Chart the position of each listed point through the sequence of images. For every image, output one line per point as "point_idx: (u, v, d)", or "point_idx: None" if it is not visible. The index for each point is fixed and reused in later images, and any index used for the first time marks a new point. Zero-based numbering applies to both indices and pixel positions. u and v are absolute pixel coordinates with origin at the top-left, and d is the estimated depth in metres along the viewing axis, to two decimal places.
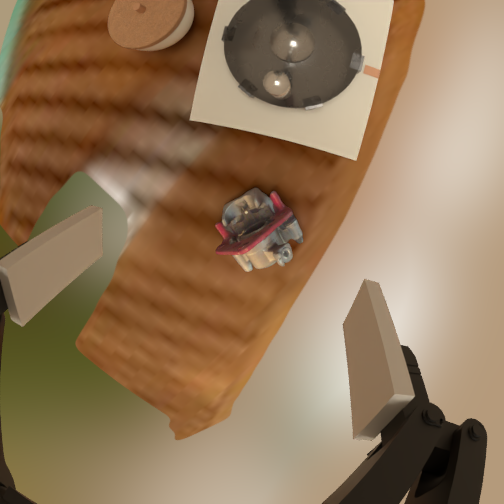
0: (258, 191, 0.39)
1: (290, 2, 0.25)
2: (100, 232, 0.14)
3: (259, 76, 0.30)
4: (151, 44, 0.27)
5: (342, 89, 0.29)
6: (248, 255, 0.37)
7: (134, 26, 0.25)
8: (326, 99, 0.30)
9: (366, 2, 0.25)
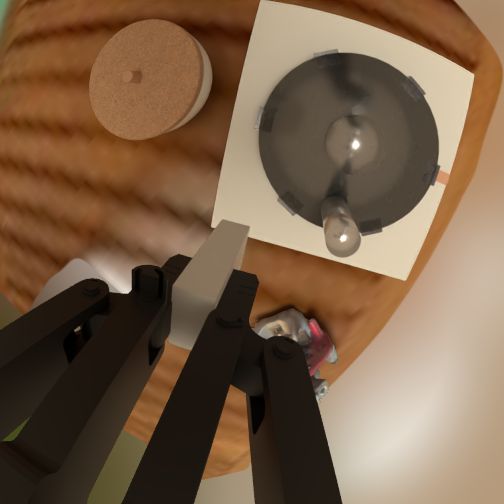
0: (294, 315, 0.34)
1: (354, 76, 0.20)
2: None
3: (306, 189, 0.25)
4: (154, 136, 0.22)
5: (408, 210, 0.24)
6: None
7: (127, 104, 0.20)
8: (388, 223, 0.25)
9: (443, 76, 0.20)
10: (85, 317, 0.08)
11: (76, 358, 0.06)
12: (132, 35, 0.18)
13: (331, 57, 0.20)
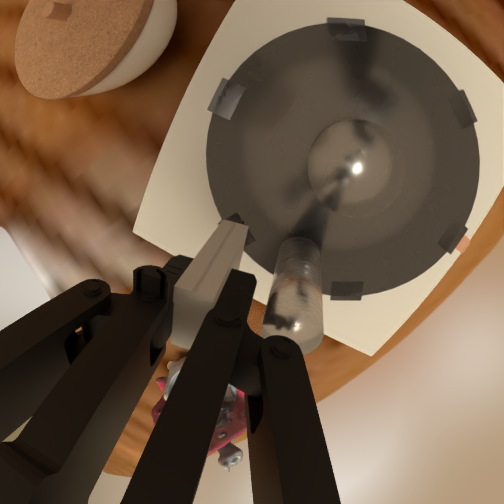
0: None
1: (380, 64, 0.12)
2: None
3: (263, 217, 0.17)
4: (64, 97, 0.12)
5: (406, 280, 0.17)
6: None
7: (45, 49, 0.11)
8: (372, 291, 0.17)
9: (499, 108, 0.13)
10: (86, 318, 0.08)
11: (77, 359, 0.06)
12: None
13: (352, 29, 0.11)
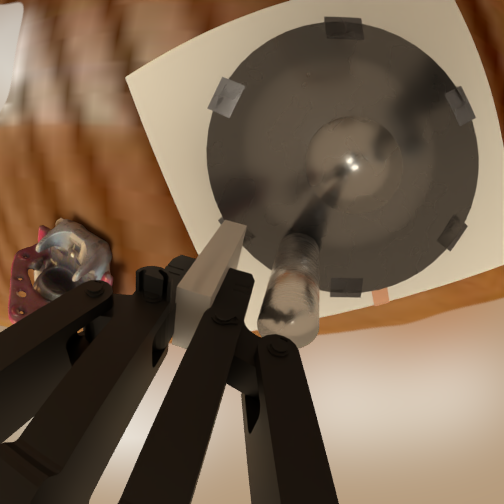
0: (101, 254, 0.24)
1: (377, 62, 0.12)
2: None
3: (263, 214, 0.17)
4: None
5: (405, 277, 0.17)
6: None
7: None
8: (371, 288, 0.18)
9: (491, 228, 0.17)
10: (88, 319, 0.08)
11: (79, 359, 0.06)
12: None
13: (349, 27, 0.12)
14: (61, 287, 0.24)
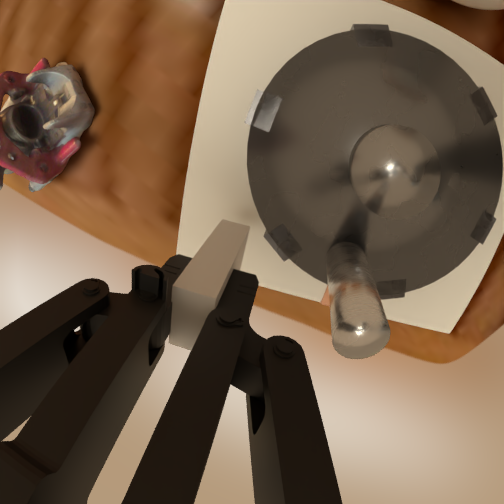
0: (84, 117, 0.18)
1: (408, 68, 0.12)
2: None
3: (309, 226, 0.17)
4: None
5: (444, 273, 0.16)
6: None
7: None
8: (414, 287, 0.17)
9: (452, 296, 0.20)
10: (85, 317, 0.08)
11: (76, 358, 0.06)
12: None
13: (378, 34, 0.11)
14: (23, 129, 0.17)
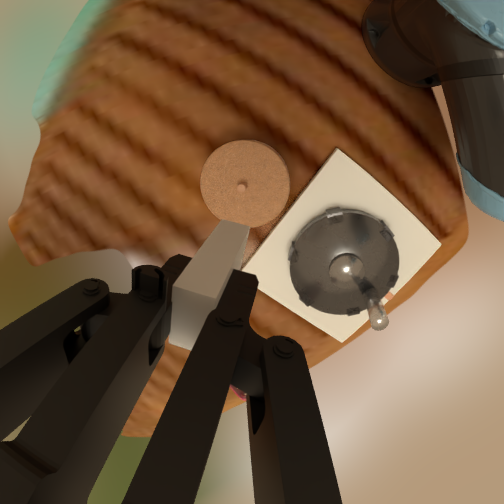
0: None
1: (311, 248, 0.40)
2: None
3: (352, 301, 0.43)
4: None
5: (398, 257, 0.39)
6: None
7: (229, 199, 0.35)
8: (396, 271, 0.40)
9: (420, 240, 0.40)
10: (85, 317, 0.08)
11: (76, 358, 0.06)
12: (252, 152, 0.32)
13: (294, 253, 0.41)
14: None
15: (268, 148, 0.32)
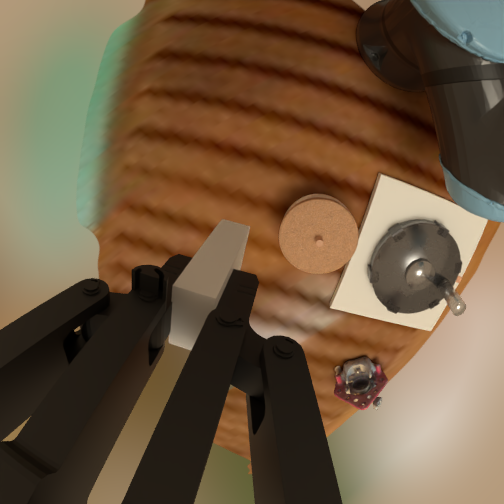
0: (368, 361, 0.54)
1: (386, 266, 0.42)
2: None
3: (430, 296, 0.43)
4: (324, 272, 0.41)
5: (457, 247, 0.39)
6: (355, 399, 0.53)
7: (310, 253, 0.40)
8: (459, 258, 0.40)
9: (470, 224, 0.40)
10: (85, 317, 0.08)
11: (76, 358, 0.06)
12: (317, 209, 0.37)
13: (374, 275, 0.43)
14: (360, 386, 0.55)
15: (329, 201, 0.37)
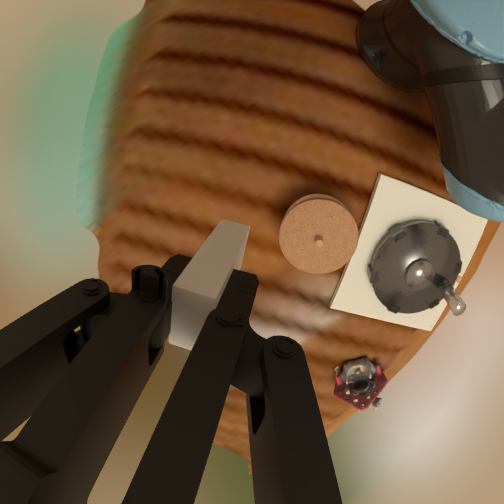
0: (368, 362, 0.54)
1: (386, 266, 0.42)
2: None
3: (430, 296, 0.43)
4: (324, 272, 0.41)
5: (457, 247, 0.39)
6: (355, 399, 0.53)
7: (310, 253, 0.40)
8: (459, 258, 0.40)
9: (470, 224, 0.40)
10: (85, 317, 0.08)
11: (76, 358, 0.06)
12: (317, 209, 0.37)
13: (374, 275, 0.43)
14: (360, 387, 0.55)
15: (329, 201, 0.37)
